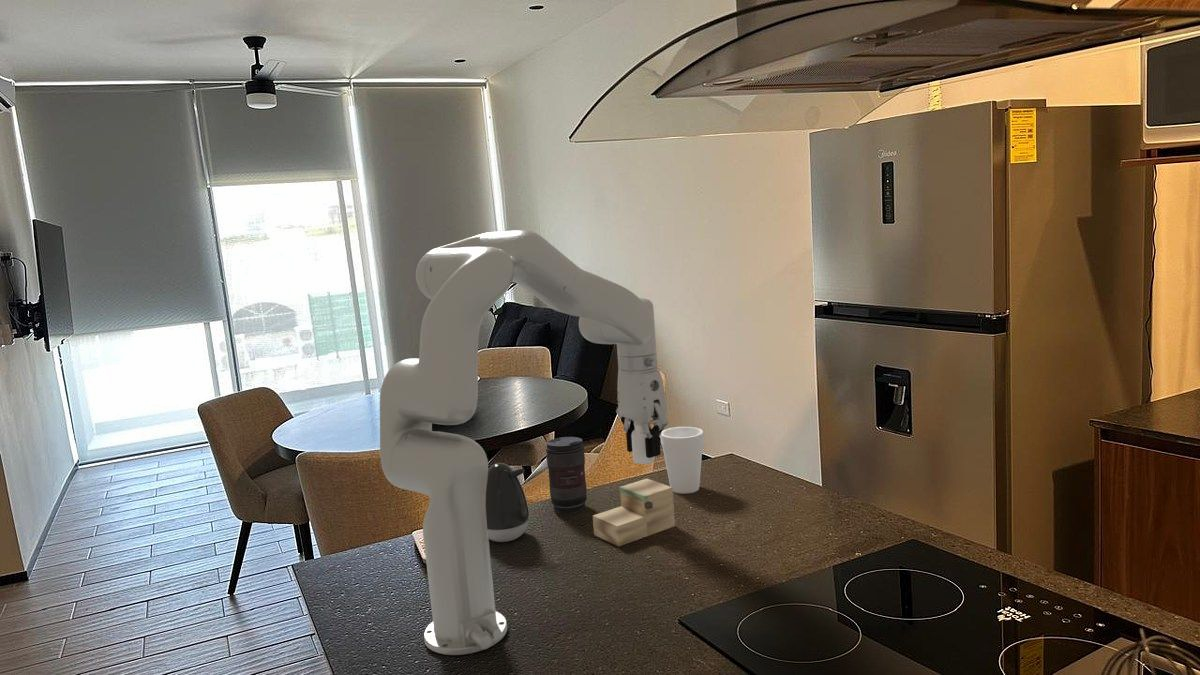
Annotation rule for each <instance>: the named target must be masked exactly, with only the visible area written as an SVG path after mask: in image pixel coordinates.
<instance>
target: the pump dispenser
mask: <svg viewBox="0 0 1200 675" xmlns="http://www.w3.org/2000/svg"><path fill="white" fill-rule="evenodd" d="M524 473H525V468H523V467H520V468H517V469H513V468H512V467H511V466H510V465H509V464H506V463H504V462H498V463H493V464H492V465H490V467H488V478H487V487H486V519H487V531H488V539H489V540H491V541H493V542H498V543H509V542H512V541H515V540H516V539H518V538H519V537H521V536H522V535H523V534H524V533H525V532H526V529H527V527H528V523H529V521H530V518H531V517H530V510H529V504H528V501H527V500H528V499H527V498H526V497H527V496H526V494H525V491H524V488H523V485H522V483H521V482H520V479H519V476H521V475H522V474H524Z"/></svg>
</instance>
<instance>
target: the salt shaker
mask: <svg viewBox="0 0 1200 675" xmlns="http://www.w3.org/2000/svg"><path fill="white" fill-rule="evenodd" d="M634 426H635V430H633V432H632V435H631V436H632V450H633V451H632V461H633V463H634V464H635V465H652V464H653V463H654V461H655V459H656V456H655V457H651V458H647V457H646V448H645V438H646V437H647V434H646V430H645V427H644V423H643V422H639V421H635V420H634Z"/></svg>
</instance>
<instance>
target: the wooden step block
mask: <svg viewBox="0 0 1200 675" xmlns="http://www.w3.org/2000/svg"><path fill="white" fill-rule="evenodd" d="M618 488H619V497H620V506H617V507H615V508H612V509H611V508H610V509H608V510H606V511H603V512H599V513H597V514H596V513H595V514H594V515H592V525H593V536H595V537H598V538H600V539H601V540H604V541H607V542H608V543H611V544H612V545H615V546H617V547H621V546H624V545H627V544H630V543H633V542H635V541H638V540H640V539H643V537H644V538H646V537H649V536H652V535H655V534H657V533H659V532H662V531H664V530H665V531H666V530H668V529H671V528H674V527H676V522H675V521H676V520H675V519H676V518H675V505H674V492H673V487H670V485H667V484H664V483H661V482H658V481H655V480H653V479H650V478H644V479H641V480H638V481H634V482H631V483H628V484H625V485H621V486H618Z"/></svg>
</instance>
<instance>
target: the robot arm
mask: <svg viewBox="0 0 1200 675" xmlns="http://www.w3.org/2000/svg"><path fill="white" fill-rule="evenodd" d="M415 282H416V284H417V287H418V289H419V290H420V292H421V294H423V296H425V297H426V298H427V299H429V300H430V302H429V304H428V306H427V308H426V310H425V312H424V314H423V316H422V321H421V326H420V333H419V334H420V335H419V336H420V337H419V351H418V352H419V354H418V356H419V357H418V358H416V357H413V358H405V359H402V360H400V361H398V362H395V363H394V364H393V366H391V367H390V368H389V370H387V372H386V374H385V377H384V378H383V382H382V383H381V388H380V391H379V392H380V394H379V456H380V465H381V469H382V472H383V474H384V477H385V478H386V480H387V481H388V482H389V483H390V484H392V485H393V486H394V487H396V488H399V489H401V490H406V491H410V492H414V493H419V494H423V495H425V496H428V497H429V503H428V507H427V509H426V512H425V514H424V519H423V521H422V522H423V524H422V537H423V544H424V553H425V561H426V571H427V580H428V587H429V588H428V589H429V597H430V598H429V599H430V600H429V601H430V606H431V615H432V616H431V617H432V622H430V623H429V624H428V625H427V627H425V628H426V629H425V630H424V632H423V638H424V640H423V641H424V644H425V646H426V647H427V648H428V649H429V650H430V651H432V652H434V653H438V654H440V655H441V654H442V655H445V656H446V655H447V656H463V655H464V656H465V655H470V654H473V653H478V652H481V651H484V650H487V649H489V648H491V647H492V646H495V645H496V644H497V643H499V642H500V641H501V640H502V639H503V638H504V637H505V635H506V634H507V631H508V623H507V619H506V617H505V616H504V615H503V614H502V613H501V612H499V611H497V610H496V602H495V592H494V583H493V582H494V581H493V571H492V562H491V552H490V551H491V550H490V541H489V540H490V539H489V538H488V531H487V519H486V487H487V478H488V469H489V460H488V457H487V454H486V452H485V450H484V448H483V447H482V446H481V445H480V444H479V443H478V442H476V441H475V440H474V439H472V438H470V437H468V436H465V435H461V434H457V433H451V432H445V431H439V430H438V431H434V430H433V428H432V427H433V424H435V425H443V426H444V425H445V426H455V425H457V426H458V425H461V424H464V423H467V421H470V420H471V418H473V416H474V414H475V413H476V410H477V405H478V400H479V398H478V396H479V383H478V382H479V338H480V337H479V336H480V329H481V326H482V323H483V320H484V319H485V317H486V315H487V313H488V312H489V310H490V309H491V308H492V307H493V305H495V304H496V302H497V301H498V300H500V299H501V298H502V297H503V296H504V295H505V294H506V293H507V291H508V290H509V288H510V286H511V285H512V283H514V284H517V285H519V286H520V287H521V288H523V289H524V290H526V291H527V292H528V293H530V294H531V295H533V296H534V297H535V298H537V299H538V300H540V301H541V302H542V303H543V304H545V305H546V306H547V307H549V308H550V309H551V310H554V311H556V312H560V313H563V314H566V315H569V316H574V317H579V320H578V328H579V329H578V330H579V332H580V334H581V336H582V337H583V338H584V339H586V340H587V341H589V342H591V343H593V344H599V345H600V344H601V345H616V350H617V351H616V352H617V365H618V366H617V367H618V370H617V371H618V373H617V389H616V390H617V405H618V406H617V408H616V410H615V411H616V412H615V413H616V414H617V416H618V417H619V419H620V421H621V423H622V425H623V430H624V432H625V436H626V449H627V450H626V451H627V452H629V453H633V450H632V436H631V435H632V432H633V430H635V426H634V420H635V421H639V422H643V423H644V427H645V430H646V434H647V437H646V438H645V448H646V457H647V458H651V457H655V458H656V457H657V456H658V457H659V456H660V455H661V453H662V452H661V437H660V435H661V432H662V431H663V430H665V428H666V426H667V425H669V420H668V418H667V416H668V415H667V413H668V412H667V411H668V410H667V401H666V393H665V387H664V382H663V377H662V374H661V370H660V369H658V356H657V343H656V342H657V341H656V339H657V338H656V325H655V324H656V323H655V309H654V304H653V302H652V301H651V300H650V299H647V298H643V297H642V298H641V297H640V298H639V297H638V296H637V295H636V294H635V293H634V292H633V291H631V290H630V289H628V288H626V287H625V286H623V285H620V284H618V283H616V282H613V281H611V280H608V279H606V278H603V277H601V276H599V275H597V274H594V273H592V272H589V271H587V270H585V269H582V268H581V267H579V266H578V265H577V264H576V263H574V262H573V261H572V260H571V259H569V257H567V256H566V255H565V254H564V253H562V252H561V251H559V249H557V247H555V246H554V245H553V244H551V242H549V241H548V240H546V238H544V237H543V236H541V235H540V234H538V233H536V232H534V231H532V230H526V229H516V230H515V229H514V230H502V231H501V230H499V231H490V232H483V233H480V234H476V235H474V236H470V237H466V238H464V239H461V240H457V241H455V242H452V243H448V244H445V245H441V246H439V247H436V248H435V247H434V248H433V249H431V250H429V251H427V252H426V253H425V254H424V255H423V256H422V257H421V258H420V260H419V261H418V263H417V266H416V270H415ZM651 425H653V427H652V426H651Z"/></svg>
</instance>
